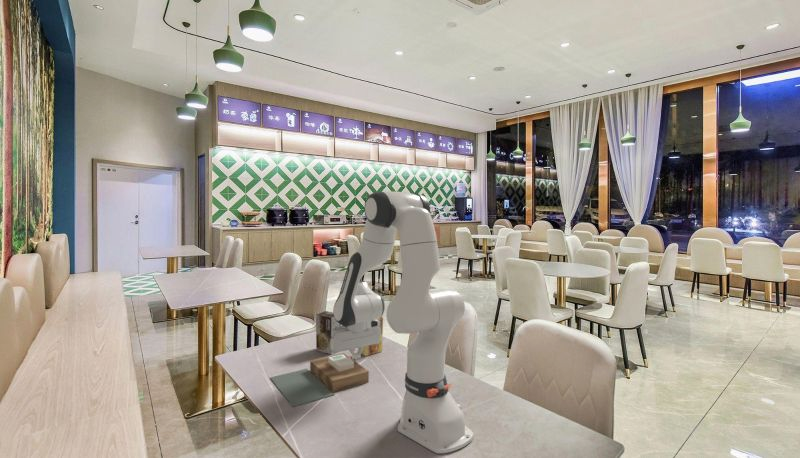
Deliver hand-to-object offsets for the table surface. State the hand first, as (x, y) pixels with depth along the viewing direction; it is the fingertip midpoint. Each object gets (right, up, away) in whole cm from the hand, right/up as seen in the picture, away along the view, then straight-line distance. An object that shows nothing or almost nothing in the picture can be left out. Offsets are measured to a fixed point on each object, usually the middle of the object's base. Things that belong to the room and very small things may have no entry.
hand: (356, 358), depth 149 cm
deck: (-6, -5, -4) cm, 9 cm away
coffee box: (-14, -4, +21) cm, 26 cm away
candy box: (+4, -4, +19) cm, 20 cm away
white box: (-5, -1, -4) cm, 6 cm away
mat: (-18, -6, -12) cm, 22 cm away
